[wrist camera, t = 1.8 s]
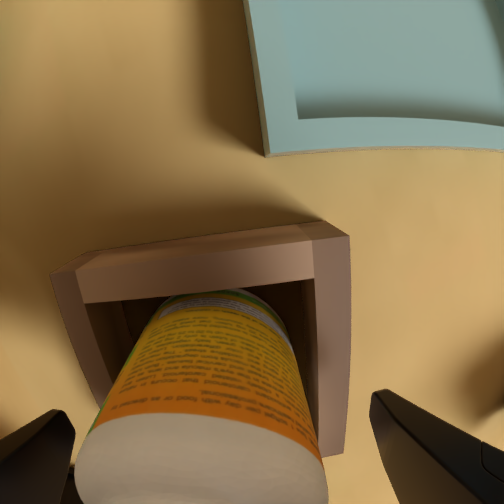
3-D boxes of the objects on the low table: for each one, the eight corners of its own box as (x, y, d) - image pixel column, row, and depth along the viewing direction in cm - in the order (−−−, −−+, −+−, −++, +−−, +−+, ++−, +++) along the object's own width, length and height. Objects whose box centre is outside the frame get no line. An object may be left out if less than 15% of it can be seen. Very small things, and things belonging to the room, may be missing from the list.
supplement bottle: (136, 282, 11) (-41, 518, 1) (290, 276, 11) (410, 581, 1) (161, 400, 12) (103, 609, 3) (288, 398, 12) (329, 622, 3)
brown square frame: (144, 428, 12) (132, 466, 10) (85, 252, 10) (49, 273, 8) (329, 413, 12) (343, 453, 10) (325, 220, 10) (349, 235, 8)
